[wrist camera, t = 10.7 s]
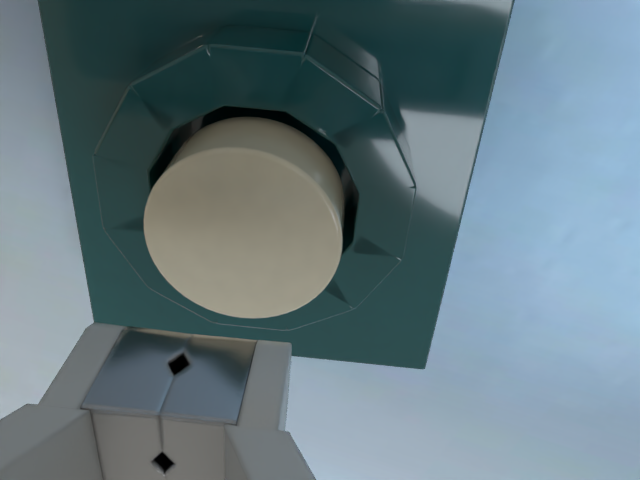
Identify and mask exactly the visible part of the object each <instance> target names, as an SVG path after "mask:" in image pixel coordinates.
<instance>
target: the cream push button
mask: <svg viewBox="0 0 640 480" xmlns="http://www.w3.org/2000/svg"><path fill="white" fill-rule="evenodd" d="M344 212H345V198H344V190H343V186H342V182H341V179H340V176H339V174H338V172H337V169H336V168H335V166H334V164H333V163H332V161H331V159H330V158H329V157H328V156H327V154H326V153H325V152H324V150H323V149H322V148H321V147H320V146H319V145H318V144H316V143H315V142H314V141H313V140H312V139H310V138H309V137H308V136H307V135H305V134H304V133H302V132H300V131H298V130H297V129H295V128H293V127H291V126H289V125H286V124H284V123H281V122H278V121H274V120H271V119H266V118H260V117H235V118H229V119H224V120H220V121H217V122H215V123H212V124H209V125H207V126H205V127H204V128H202V129H200V130H198V131H197V132H196V133H194V134H193V135H192V136H190V137H189V138H188V139H187V140H186V141H185V142H184V143H183V144H182V146H181V147H180V148H179V150H178V151H177V153H176V154H175V156H174V157H173V158H172V160H171V161H170V163H169V164H168V166H167V167H166V169H165V170H164V172H163V173H162V174H161V176H160V177H159V179H158V180H157V182H156V183H155V185H154V186H153V188H152V190H151V192H150V194H149V196H148V199H147V202H146V206H145V211H144V218H143V221H144V234H145V240H146V244H147V247H148V250H149V253H150V256H151V258H152V260H153V262H154V264H155V265H156V267H157V268H158V270H159V271H160V273H161V274H162V275H163V277H164V278H165V279H166V280H167V281H168V282H169V283H170V284H171V285H172V286H173V287H174V288H175V289H176V290H177V291H178V292H180V293H181V294H182V295H183V296H185V297H186V298H188V299H189V300H191V301H193V302H194V303H196V304H198V305H200V306H202V307H204V308H206V309H209V310H211V311H214V312H217V313H220V314H224V315H228V316H233V317H240V318H267V317H274V316H278V315H282V314H286V313H289V312H291V311H294V310H296V309H298V308H300V307H302V306H304V305H306V304H307V303H309V302H310V301H311V300H313V299H314V298H315V297H317V296H318V295H319V294H320V293H321V292H322V291H323V290H324V289H325V288H326V286H327V285H328V284H329V282H330V281H331V280H332V278H333V276H334V274H335V272H336V271H337V268H338V265H339V262H340V259H341V254H342V247H343V229H344Z"/></svg>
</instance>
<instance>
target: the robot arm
mask: <svg viewBox="0 0 640 480" xmlns="http://www.w3.org/2000/svg"><path fill="white" fill-rule="evenodd" d="M291 355H292V345H291V343H287V342H276V341H264V340H249V339H239V338H228V337H218V336H208V335H197V334H187V333H179V332H171V331H164V330H156V329H148V328H140V327H133V326H127V327H126V326H119V325H111V324H104V323H97V322H94V323H93V324H91V325H90V326H89V327H87V328H86V329H85V331H84V332H83V334H82V336H81V337H80V339H79V340H78V342H77V343H76V345H75V347H74V348H73V350H72V351H71V353H70V355H69V356H68V358H67V359H66V361H65V362H64V364H63V366H62V367H61V369H60V370H59V372H58V374H57V375H56V377H55V378H54V380H53V381H52V383H51V385H50V386H49V388H48V389H47V391H46V393H45V394H44V396H43V397H42V399H41V400H40V402H39V404H38V405H37V404H26V405H24V406H22V407H21V408H19V409H17V410H16V411H14V412H12V413H11V414H9V415H7V416H6V417H4V418H2V419H1V420H0V480H316V479H315V477H314V475H313V473H312V472H311V470H310V468H309V466H308V465H307V463H306V461H305V459H304V457H303V456H302V454H301V452H300V450H299V449H298V447H297V445H296V443H295V442H294V440H293V438H292V436H291V435H290V433H289V432H287V431H285V426H286V416H287V405H288V393H289V381H290V368H291Z"/></svg>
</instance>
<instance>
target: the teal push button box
mask: <svg viewBox="0 0 640 480" xmlns="http://www.w3.org/2000/svg"><path fill="white" fill-rule="evenodd" d="M514 1H515V0H38V4H39V10H40V16H41V21H42V27H43V33H44V39H45V44H46V50H47V56H48V61H49V67H50V73H51V79H52V84H53V90H54V96H55V102H56V107H57V113H58V119H59V124H60V130H61V136H62V142H63V147H64V153H65V159H66V165H67V170H68V176H69V182H70V187H71V193H72V199H73V205H74V210H75V216H76V222H77V228H78V233H79V239H80V245H81V250H82V256H83V262H84V268H85V273H86V279H87V285H88V291H89V296H90V302H91V308H92V313H93V319H94V322H97V323H104V324H111V325H119V326H126V327H127V326H133V327H140V328H148V329H156V330H164V331H171V332H179V333H187V334H197V335H208V336H218V337H228V338H239V339H249V340H264V341H276V342H287V343H291V345H292V355H291V356H298V357H308V358H317V359H327V360H337V361H347V362H356V363H366V364H376V365H386V366H395V367H405V368H415V369H425V367H426V363H427V359H428V355H429V351H430V347H431V342H432V338H433V334H434V330H435V326H436V322H437V318H438V314H439V310H440V305H441V301H442V297H443V293H444V289H445V285H446V281H447V277H448V273H449V268H450V264H451V260H452V256H453V252H454V248H455V244H456V240H457V236H458V231H459V227H460V223H461V219H462V215H463V211H464V207H465V203H466V199H467V194H468V190H469V186H470V182H471V178H472V174H473V170H474V166H475V162H476V157H477V153H478V149H479V145H480V141H481V137H482V133H483V129H484V125H485V120H486V116H487V112H488V108H489V104H490V100H491V96H492V92H493V88H494V83H495V79H496V75H497V71H498V67H499V63H500V59H501V55H502V51H503V46H504V42H505V38H506V34H507V30H508V26H509V22H510V18H511V14H512V9H513V5H514ZM235 117H260V118H266V119H271V120H274V121H278V122H281V123H284V124H286V125H289V126H291V127H293V128H295V129H297V130H298V131H300V132H302V133H304V134H305V135H307V136H308V137H309V138H310V139H312V140H313V141H314V142H315V143H316V144H318V145H319V146H320V147H321V148H322V149H323V150H324V152H325V153H326V154H327V156H328V157H329V158H330V159H331V161H332V163H333V164H334V166H335V168H336V169H337V172H338V174H339V176H340V179H341V182H342V186H343V190H344V198H345V212H344V229H343V247H342V254H341V259H340V262H339V265H338V268H337V271H336V272H335V274H334V276H333V278H332V280H331V281H330V282H329V284H328V285H327V286H326V288H325V289H324V290H323V291H322V292H321V293H320V294H319V295H318V296H317V297H315V298H314V299H313V300H311V301H310V302H309V303H307V304H306V305H304V306H302V307H300V308H298V309H296V310H294V311H291V312H289V313H286V314H282V315H278V316H274V317H267V318H240V317H233V316H228V315H224V314H220V313H217V312H214V311H211V310H209V309H206V308H204V307H202V306H200V305H198V304H196V303H194V302H193V301H191V300H189V299H188V298H186V297H185V296H183V295H182V294H181V293H180V292H178V291H177V290H176V289H175V288H174V287H173V286H172V285H171V284H170V283H169V282H168V281H167V280H166V279H165V278H164V277H163V275H162V274H161V273H160V271H159V270H158V268H157V267H156V265H155V264H154V262H153V260H152V258H151V256H150V253H149V250H148V247H147V244H146V240H145V234H144V221H143V218H144V211H145V206H146V202H147V199H148V196H149V194H150V192H151V190H152V188H153V186H154V185H155V183H156V182H157V180H158V179H159V177H160V176H161V174H162V173H163V172H164V170H165V169H166V167H167V166H168V164H169V163H170V161H171V160H172V158H173V157H174V156H175V154H176V153H177V151H178V150H179V148H180V147H181V146H182V144H183V143H184V142H185V141H186V140H187V139H188V138H189V137H190V136H192V135H193V134H194V133H196V132H197V131H198V130H200V129H202V128H204V127H205V126H207V125H209V124H212V123H215V122H217V121H220V120H224V119H229V118H235Z"/></svg>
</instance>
